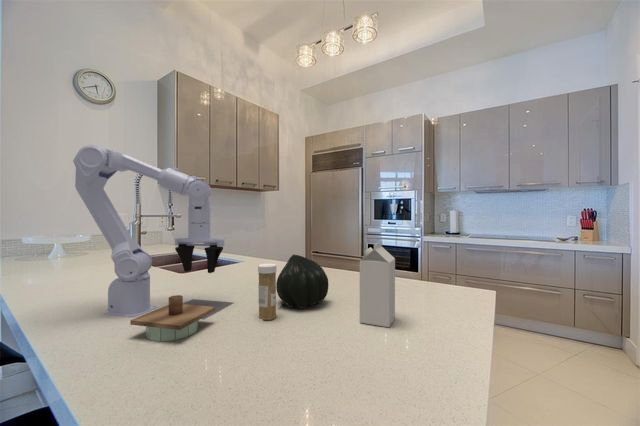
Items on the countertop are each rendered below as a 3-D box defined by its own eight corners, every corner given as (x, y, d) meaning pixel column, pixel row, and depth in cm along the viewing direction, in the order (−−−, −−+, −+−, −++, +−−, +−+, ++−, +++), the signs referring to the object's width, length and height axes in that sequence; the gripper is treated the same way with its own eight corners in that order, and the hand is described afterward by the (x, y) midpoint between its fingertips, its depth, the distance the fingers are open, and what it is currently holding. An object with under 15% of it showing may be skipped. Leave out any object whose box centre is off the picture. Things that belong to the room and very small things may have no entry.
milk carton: (395, 318, 75) (395, 242, 75) (389, 328, 68) (389, 245, 68) (367, 314, 78) (367, 241, 78) (359, 323, 71) (359, 244, 71)
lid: (130, 324, 62) (130, 303, 62) (172, 306, 73) (172, 288, 73) (180, 330, 59) (180, 307, 59) (215, 310, 71) (215, 291, 71)
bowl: (135, 339, 62) (135, 324, 62) (170, 322, 72) (170, 309, 72) (175, 345, 59) (175, 329, 59) (207, 326, 69) (207, 313, 69)
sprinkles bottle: (279, 318, 74) (279, 264, 74) (262, 322, 72) (262, 266, 72) (271, 313, 78) (271, 262, 78) (255, 316, 76) (255, 263, 76)
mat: (156, 316, 76) (156, 314, 76) (192, 300, 90) (192, 299, 90) (203, 321, 73) (203, 319, 73) (234, 304, 86) (234, 302, 86)
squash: (343, 288, 82) (322, 245, 90) (296, 299, 74) (277, 250, 82) (323, 312, 91) (304, 270, 99) (279, 324, 83) (263, 277, 91)
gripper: (230, 222, 85) (230, 270, 85) (187, 222, 89) (187, 267, 89) (215, 223, 79) (215, 275, 79) (169, 223, 82) (169, 272, 82)
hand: (199, 271), depth 83 cm, fingers open, 7 cm apart
